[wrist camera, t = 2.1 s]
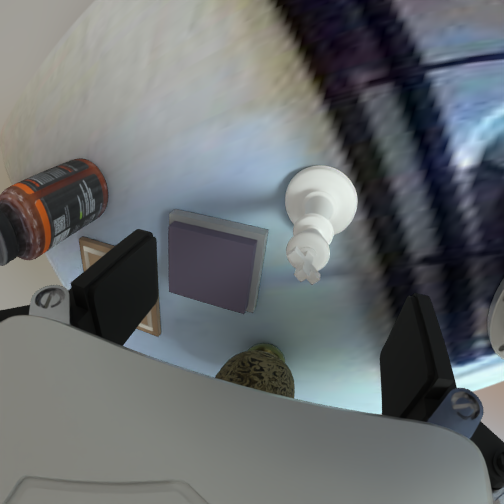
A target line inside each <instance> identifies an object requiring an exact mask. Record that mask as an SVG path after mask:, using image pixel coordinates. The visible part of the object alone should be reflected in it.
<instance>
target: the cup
mask: <svg viewBox="0 0 504 504" xmlns="http://www.w3.org/2000/svg"><path fill="white" fill-rule="evenodd" d="M215 378H217V379H221V380H224V381H227V382H231V383H234V384H238V385H242V386H245V387H249V388H253V389H257V390H261V391H264V392H268V393H273V394H277V395H281V396H285V397H289V398H294V379H293V376H292V373H291V371H290V369H289V368H288V366H287V365H286V364H285V358H284V355H283V353H282V352H281V351H280V350H279V349H278V348H277V347H275V346H273V345H271V344H266V343H260V344H256V345H254V346H252V347H251V348H250V349H249V350H248V351H245V352H242V353H239V354H237V355H235V356H234V357H232V358H231V359H230V360H229V361H228V362H227V363H226V364H225V365H224V366H223V367H222V368H221V370H220V371H219V372H218V374H217V375H216V377H215Z"/></svg>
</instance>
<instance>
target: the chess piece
mask: <svg viewBox="0 0 504 504" xmlns="http://www.w3.org/2000/svg"><path fill="white" fill-rule="evenodd" d="M285 207H286V211H287V214H288V216H289V218H290V220H291V221H292V223H293V224H294V228H293V235H294V236H293V237H292V238H291V239H290V241H289V242H288V245H287V248H286V254H287V258H288V260H289V262H290V263H291V265H292V266H293V267H295V268H296V270H295V273H294V275H295V276H296V278H297V279H298V280H299V281H300V282H302V281H304V280H305V279H307V280H308V281H309V282H310V283H311V285H313V284H314V283H316V282H318V281H319V280H320V277H321V275H320V273H319V272H318V271H319V270H320V269H322V268H323V267H324V266H325V265H326V264H327V262H328V260H329V257H330V249H329V245H330V243H331V242H332V240H333V236H334V235H336V234H338V233H340V232H341V231H343V230H344V229H345V228H347V227H348V225H349V224H350V223H351V221H352V220H353V218H354V215H355V213H356V210H357V193H356V190H355V188H354V186H353V184H352V182H351V181H350V179H349V178H348V177H347V176H346V175H345V174H343V173H342V172H341V171H339V170H337V169H335V168H332V167H329V166H323V165H317V166H311V167H308V168H305V169H303V170H301V171H300V172H298V173H297V174H296V175H295V176H294V177H293V178H292V180H291V181H290V183H289V185H288V187H287V190H286V195H285Z"/></svg>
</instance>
